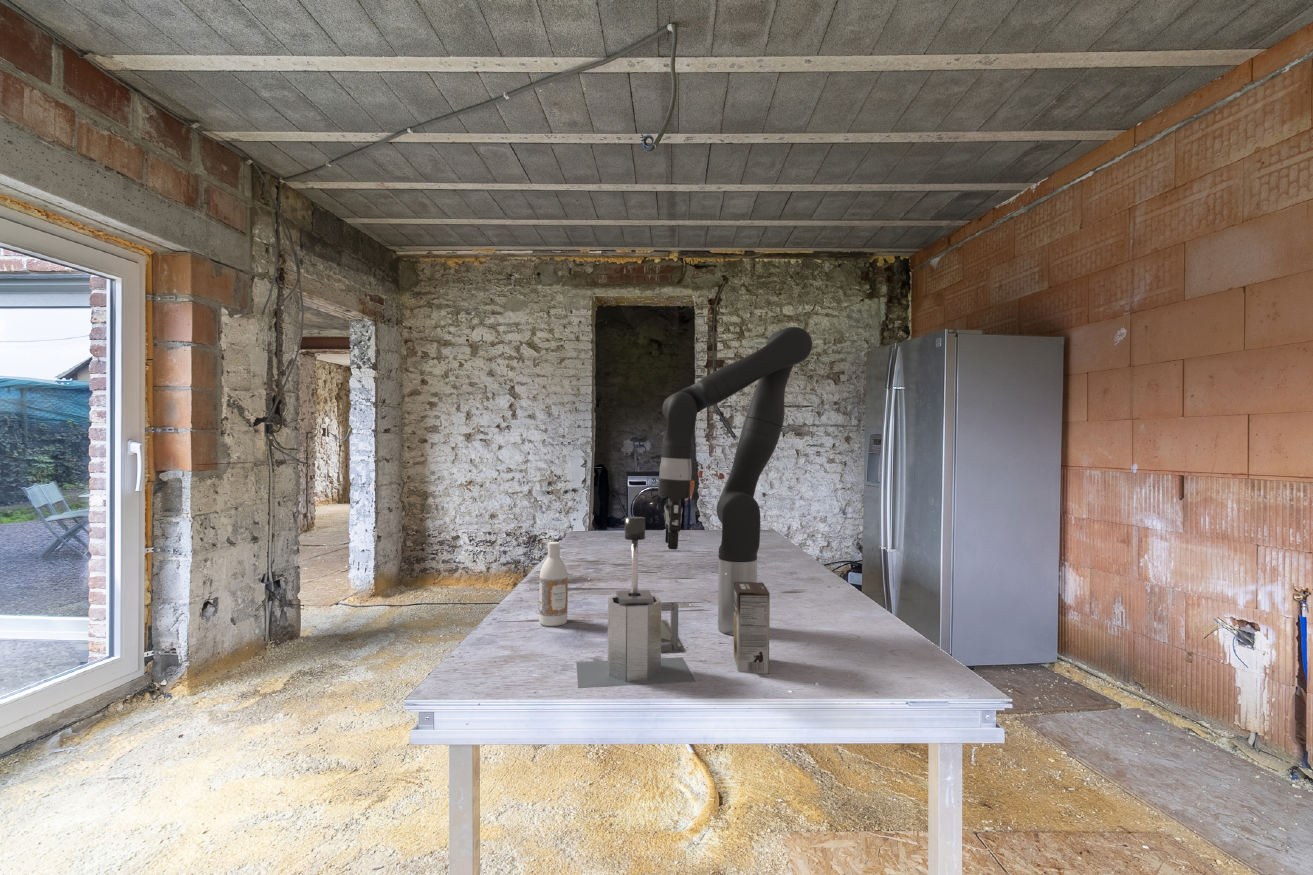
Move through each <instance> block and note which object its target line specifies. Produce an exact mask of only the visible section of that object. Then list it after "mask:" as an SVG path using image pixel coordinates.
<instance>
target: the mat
mask: <svg viewBox="0 0 1313 875" xmlns="http://www.w3.org/2000/svg"><path fill="white" fill-rule="evenodd" d="M576 676H577V688H578V689H583V688H585V689H587V688H589V689H590V688H605V687H623V686H640V685H642V686H643V685H659V684H660V685H661V684H678V683H681V684H682V683H693V682H695V683H696V682H697V680H696V679H695V677H694V675H693V673H692V672H691V670H690V668H689V666H688V664H687V663H686V661H685V659H684V657H683V656H681V657H661V674H660V675H658V676H656V677H654V678H652V679H651V680H649V681H648V680H647V681H636V682H627V681H626V682H624V681H621V680H618V679H615V678H611V677H609V673H608V660H597V661H578V662H577V661H576Z"/></svg>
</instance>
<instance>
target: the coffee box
mask: <svg viewBox="0 0 1313 875" xmlns="http://www.w3.org/2000/svg"><path fill="white" fill-rule="evenodd" d="M770 595H771V594H770V592H769V590H768V588H767V586H766V585H765V583H764V582H762V581H761V582H758V581H757V582H734V635H733V658H734V662H735V666H736V670H737V672H739V673H755V674H757V673H759V674H758V675H769V674H768V673H770V621H771V620H770V619H771V618H770V617H771V616H770V615H771V613H770V612H771V611H770V608H771V606H770V605H771V604H770V601H771V599H770V598H771V597H770ZM761 673H762V674H761Z"/></svg>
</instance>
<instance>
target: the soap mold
mask: <svg viewBox="0 0 1313 875" xmlns="http://www.w3.org/2000/svg"><path fill="white" fill-rule="evenodd" d="M661 642H671V624H670V623H669V621H668V620H667V619H661ZM679 652H680V653H683V647H682V645H681V643H680V641H679V640H678V650H675V651H661V654H662V653H679Z"/></svg>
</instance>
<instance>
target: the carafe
mask: <svg viewBox="0 0 1313 875" xmlns="http://www.w3.org/2000/svg"><path fill="white" fill-rule="evenodd" d="M631 604H637V606H631ZM662 612H670V627H671V642H661V620H662ZM678 641H679V603H678V602H677V601H675V602H662V601H661V599H660V597H659V596H658V595H654V594H653V595H652V593H651V592H650V590H649V589H643V590H639V589H638V596H631V590H616V591H615V595H613V596H610V597H608V599H607V661H608V673H609V677H611V678H615V679H618V680H621V681H624V682H626V681H627V682H636V681H647V680H648V681H649V680H651V679H652V678H654V677H656V676H658V675H660V674H661V658H662V653H661V651H675V650H678Z"/></svg>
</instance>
